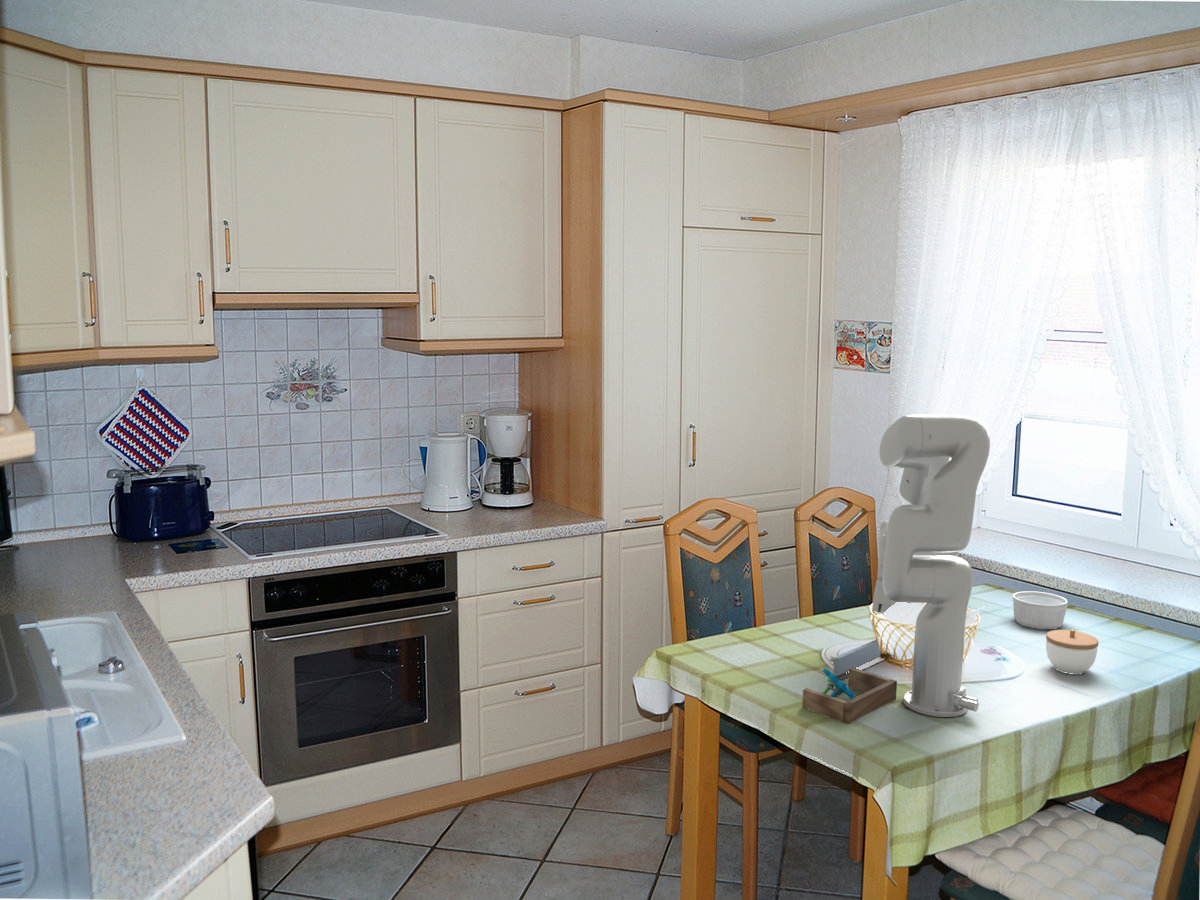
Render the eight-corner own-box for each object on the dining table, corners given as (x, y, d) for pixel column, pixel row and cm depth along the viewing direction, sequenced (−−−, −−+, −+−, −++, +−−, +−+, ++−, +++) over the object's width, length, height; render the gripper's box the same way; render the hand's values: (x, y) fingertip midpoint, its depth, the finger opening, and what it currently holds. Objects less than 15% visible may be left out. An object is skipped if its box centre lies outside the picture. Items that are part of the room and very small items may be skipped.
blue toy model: (870, 706, 203) (836, 672, 202) (850, 727, 202) (816, 693, 202) (852, 692, 214) (819, 660, 213) (833, 712, 213) (800, 680, 213)
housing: (941, 675, 224) (942, 658, 224) (848, 724, 198) (849, 704, 197) (874, 656, 236) (875, 640, 235) (778, 699, 210) (778, 681, 209)
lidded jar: (1049, 658, 236) (1052, 619, 235) (1099, 668, 230) (1103, 628, 229) (1039, 671, 227) (1042, 631, 226) (1091, 682, 221) (1094, 641, 220)
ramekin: (1001, 616, 268) (1003, 590, 267) (1048, 615, 269) (1050, 590, 268) (1027, 632, 255) (1029, 605, 254) (1076, 631, 256) (1078, 604, 255)
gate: (880, 656, 234) (880, 640, 233) (837, 676, 221) (838, 658, 221) (876, 655, 235) (877, 639, 234) (833, 674, 222) (834, 657, 221)
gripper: (896, 563, 243) (892, 637, 246) (863, 574, 233) (859, 651, 235) (924, 569, 238) (920, 644, 240) (892, 581, 227) (888, 659, 230)
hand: (890, 647), depth 238 cm, fingers closed
